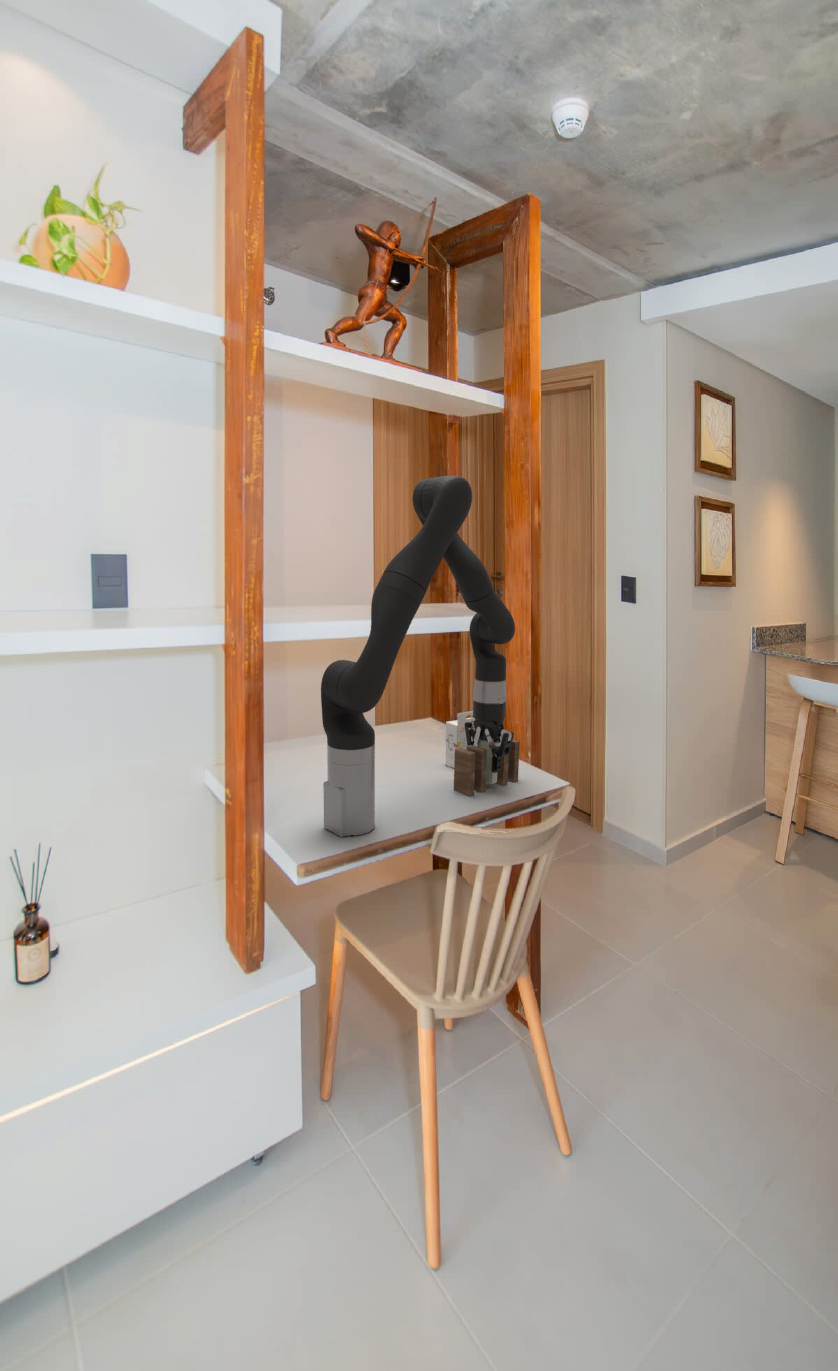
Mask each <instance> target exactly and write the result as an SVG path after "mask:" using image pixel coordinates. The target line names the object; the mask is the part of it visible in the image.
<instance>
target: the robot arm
mask: <svg viewBox="0 0 838 1371" xmlns="http://www.w3.org/2000/svg"><path fill="white" fill-rule="evenodd" d="M472 491H473V490H472V487H471V485H470V483H469V481H468V480H467V479H466V478H464V477H463V476H460V475H443V476H435V477H429V478H425V479H424V478H423V479H422V480H420V481H419V482H418V483H416V485H415V487H414V490H413V492H412V505H413V509H414V511H415V514H416V517H417V518H418V519H419V521H420V524H422V527H421V529H419V531H418V533H417V534H416V535H415V536H414V537H413V538H412V539H411V540H410V541H409V542H408V543H406V545H405V546H404V547H403V548H402V549H401V550H400V551H399V552H398V553H397V554H396V555H395V556H394V557H393V558H392V559H391V560H390V561H389V563H388V564H387V566H386V567H385V568H384V571H383V572H382V575H381V576H380V579H379V581H378V583H377V585H376V587H375V588H374V591H373V593H372V599H371V606H370V607H371V608H370V631H369V635H368V638H367V642H366V644H365V646H364V648H363V650H361V651H362V652H361V654H360V655H359V658H358V659H357V661H354V660H353V661H352V660H347V659H339V660H336V661H332V663H330V664H329V665H328V666H326V669H325V671H324V672H323V675H322V678H321V684H320V701H321V702H320V704H321V716H322V717H321V719H322V728H323V731H324V733H325V735H326V743H327V744H326V746H327V747H326V749H327V752H326V753H327V755H326V756H327V757H326V758H327V781H324V782H323V784H322V785H323V787H322V788H323V828H324V829H326V830H328V831H330V832H332V833H333V834H335V835H336V836H338V837H340V838H343V837H351V835H354V836H360V835H365V834H368V833H371V830H372V829H373V828H374V829H375V827H374V826H376V822H375V821H376V815H375V814H376V802H375V801H376V782H375V781H376V779H375V778H376V775H375V774H376V771H375V770H376V765H375V764H376V760H375V759H376V756H375V755H376V746H375V745H376V742H375V741H376V737H375V736H376V734H375V732H376V731H375V730H374V728H373V726H372V725H371V724H370V723H369V722H368V720H367V719H366V717H365V716H364V714H365V713H368V712H370V711H371V710H373V709H374V708H375V707H376V706H377V704H378V703H379V702H380V700H381V698H382V696H383V694H384V691H385V689H386V688H387V687H386V686H387V684H388V682H389V678H390V676H391V672H392V670H393V666H394V664H395V661H396V658H397V656H398V653H399V651H400V649H401V646H402V644H403V643H404V639H405V637H406V636H407V633H408V630H409V628H410V626H411V624H412V622H413V620H414V618H415V616H416V614H417V613H418V610H419V608H420V606H421V604H422V601H423V600H424V599H425V598H424V597H425V596H426V594H427V591H428V588H429V586H430V584H431V582H432V580H433V578H434V575H435V574H436V572H437V570H438V568H439V566H440V564H441V562H442V560H443V559H444V562H445V563H446V565H447V566H448V569H449V571H450V572H451V573H452V576H453V578H454V580H455V582H456V585H457V587H458V589H459V592H460V594H461V597H462V599H463V602H464V604H465V605H466V607H467V608H468V609H469V610H470V611H472V612H475V614H474V615H473V616H472V618H471V620H470V624H469V630H468V632H469V638H470V643H471V648H472V651H473V652H472V654H473V656H474V660H475V668H474V670H475V672H474V673H475V675H474V677H475V678H474V685H473V700H472V701H473V702H472V711H473V715H472V718H473V717H474V718H475V720H474V721H471V722H466V723H465V724H464V725H465V732H466V739H467V745H468V746H469V745H474V746H477V747H478V746H479V743H480V741H479V740H482V741H487V742H488V744H489V747H490V748H491V751H492V755H493V757H492V769H491V771H492V772H493V773H496V772H499V771H500V770H501V761H502V757H503V756H506V755H509V753H510V749H511V745H512V741H513V739H514V737H515V733H514V732H513V731H508V730H506V729H505V725H504V721H505V719H506V712H507V711H506V708H507V706H506V704H507V683H506V682H507V679H506V678H507V658H506V657H505V655H503V654H502V653H500V652H498V651H497V650H496V647H495V645H506V644H508V643H510V642H511V641H512V639H513V638H514V636H515V632H516V624H515V621H514V620H515V619H514V617H513V616H512V613H511V612H510V611H509V609H508V608H507V606H506V604H504V602H503V600H502V599H501V598H500V597H499V596H498V594H497V593H496V592H495V589H494V586H493V583H492V581H491V579H490V575H489V573H488V571H487V569H486V566H485V565H484V564H483V562H482V561H481V560H480V558H479V557H478V555H477V554H475V552H474V551H473V550H472V549H471V548H470V547H469V546H468V545H467V543H466V542H465V540H463V538H462V537H461V536H460V534H459V533H458V532H459V531H460V529H461V527H462V525H463V524H464V522H465V521H466V519H467V517H468V515H469V512H470V510H471V507H472V502H473V492H472ZM471 736H472V740H473V741H472V740H471ZM495 741H499V742H498V743H496V744H494V742H495ZM497 746H498V752H497V750H496V747H497ZM374 829H373V830H374ZM373 830H372V831H373Z"/></svg>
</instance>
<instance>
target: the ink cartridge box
mask: <svg viewBox="0 0 838 1371" xmlns="http://www.w3.org/2000/svg"><path fill="white" fill-rule="evenodd" d="M469 715H470V716H472V717H469ZM467 717H468V718H467ZM456 718H457V719H456V720H450V721H446V722H445V765H446V767H447V766H448V767H449V768H452V769H454V761H455V749H457V748H462V749H465V750H466V748H467V746H468V745H467V739H466V732H465V725H464V724H465V723H466V722H471V721H474V720H475V718H474V717H473V710H470V711H465V712H458V713H457V714H456ZM471 740H472V736H471ZM472 741H473V740H472Z"/></svg>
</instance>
